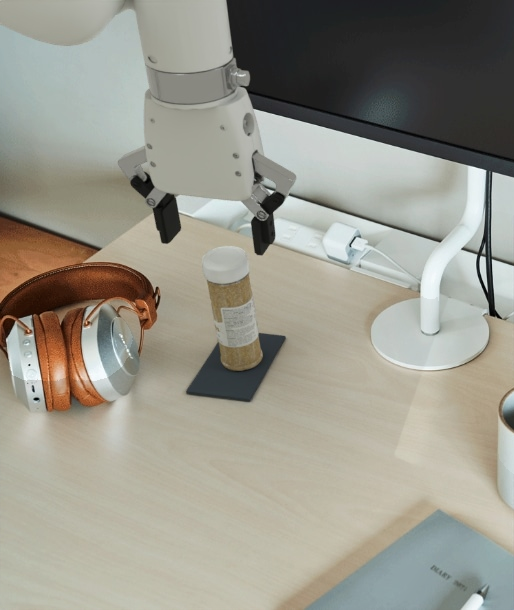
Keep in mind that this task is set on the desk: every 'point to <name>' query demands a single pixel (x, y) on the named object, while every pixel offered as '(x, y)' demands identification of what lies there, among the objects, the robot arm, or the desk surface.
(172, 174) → the robot arm
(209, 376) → the mat
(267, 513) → the desk surface
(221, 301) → the brown spice jar
